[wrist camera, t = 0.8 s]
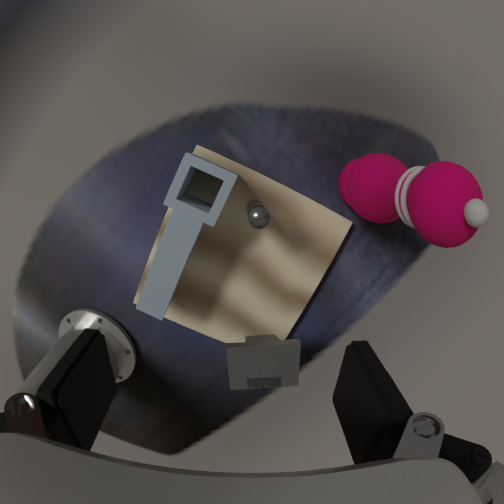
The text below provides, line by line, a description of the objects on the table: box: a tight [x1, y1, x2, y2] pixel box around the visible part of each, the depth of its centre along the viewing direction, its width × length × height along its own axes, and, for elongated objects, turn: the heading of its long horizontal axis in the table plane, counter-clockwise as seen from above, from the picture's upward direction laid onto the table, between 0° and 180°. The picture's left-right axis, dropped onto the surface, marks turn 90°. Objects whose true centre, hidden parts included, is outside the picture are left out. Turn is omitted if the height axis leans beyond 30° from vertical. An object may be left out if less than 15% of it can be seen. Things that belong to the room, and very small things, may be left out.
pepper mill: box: [338, 153, 489, 248], centre depth 23 cm, size 7×7×20 cm
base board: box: [133, 145, 353, 343], centre depth 34 cm, size 20×19×1 cm
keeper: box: [226, 334, 301, 390], centre depth 32 cm, size 6×7×9 cm
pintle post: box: [247, 200, 270, 229], centre depth 29 cm, size 2×2×8 cm
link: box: [136, 152, 238, 320], centre depth 29 cm, size 16×5×6 cm, turn 154°
